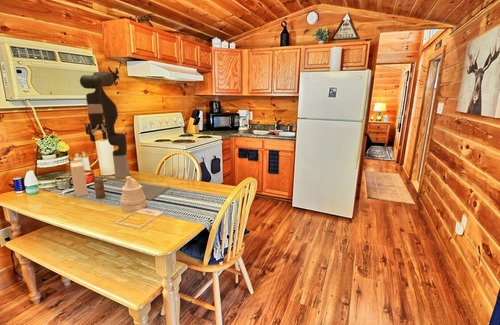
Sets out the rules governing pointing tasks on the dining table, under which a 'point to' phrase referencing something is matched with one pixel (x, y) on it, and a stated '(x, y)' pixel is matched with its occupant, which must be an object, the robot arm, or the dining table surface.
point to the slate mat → (153, 191)
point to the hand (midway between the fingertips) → (99, 140)
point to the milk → (78, 178)
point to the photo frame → (153, 213)
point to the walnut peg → (99, 188)
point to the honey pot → (132, 196)
